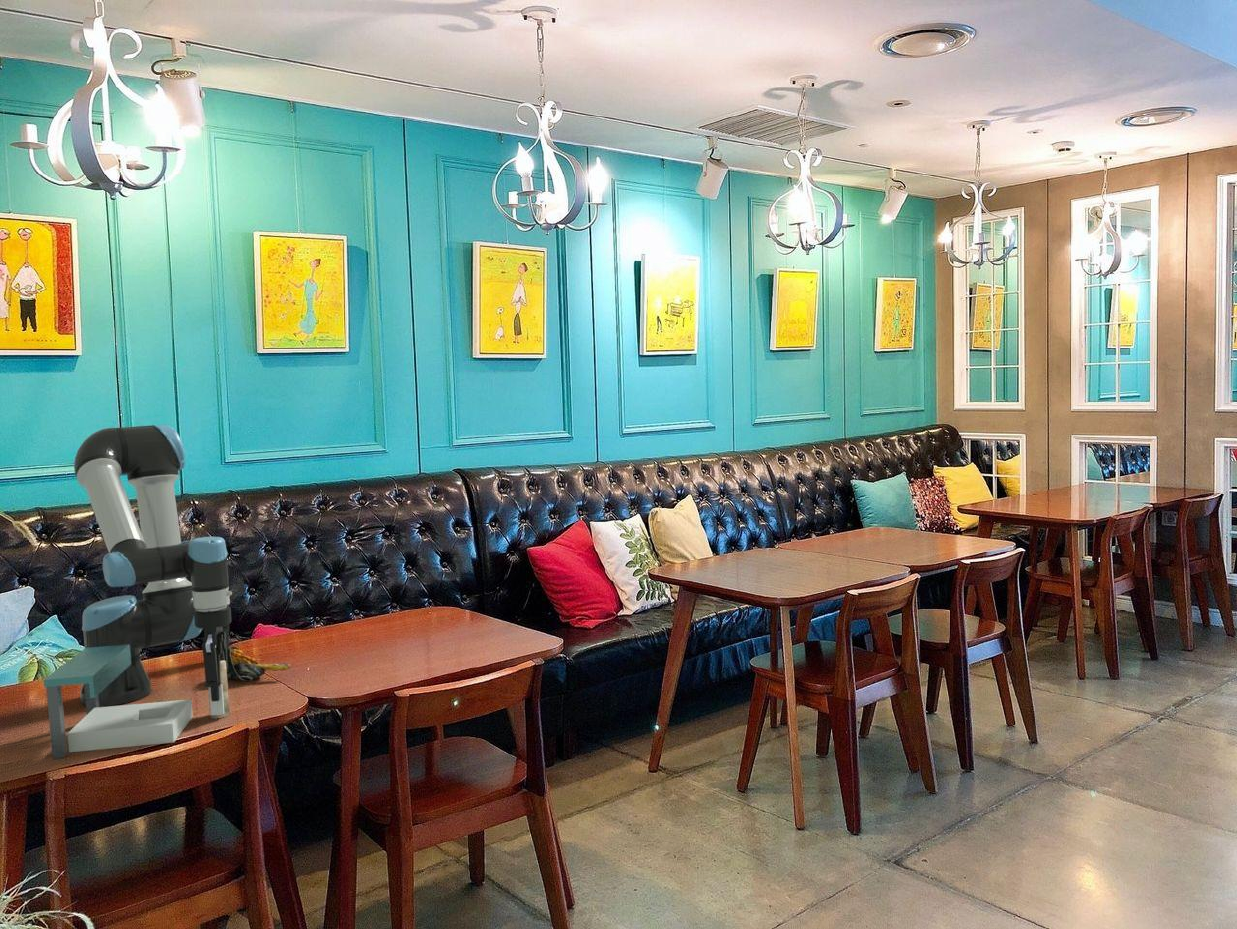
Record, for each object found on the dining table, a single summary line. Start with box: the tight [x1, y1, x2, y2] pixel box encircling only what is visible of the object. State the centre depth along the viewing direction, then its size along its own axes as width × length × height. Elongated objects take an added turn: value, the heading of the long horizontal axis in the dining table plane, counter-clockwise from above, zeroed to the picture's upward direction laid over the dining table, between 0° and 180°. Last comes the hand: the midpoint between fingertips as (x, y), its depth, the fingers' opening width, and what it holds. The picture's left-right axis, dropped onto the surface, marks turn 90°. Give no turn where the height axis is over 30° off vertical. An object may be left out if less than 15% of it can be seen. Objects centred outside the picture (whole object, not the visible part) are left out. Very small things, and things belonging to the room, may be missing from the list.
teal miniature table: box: [43, 644, 131, 760], centre depth 207 cm, size 24×9×16 cm, turn 10°
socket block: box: [66, 698, 194, 753], centre depth 209 cm, size 16×20×4 cm
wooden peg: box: [207, 660, 231, 720], centre depth 218 cm, size 4×4×12 cm
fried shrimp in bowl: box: [227, 644, 292, 682], centre depth 246 cm, size 9×11×18 cm
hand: (219, 710), depth 219 cm, fingers closed on wooden peg, 4 cm apart
